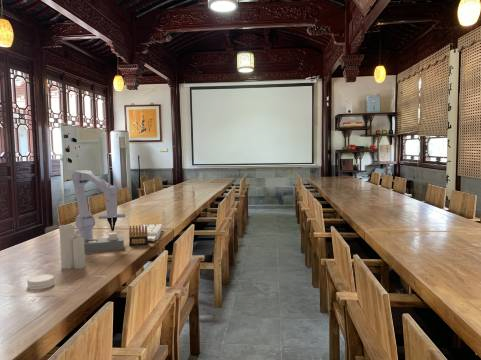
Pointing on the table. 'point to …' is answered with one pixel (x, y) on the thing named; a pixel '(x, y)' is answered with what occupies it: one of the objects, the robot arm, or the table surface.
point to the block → (103, 245)
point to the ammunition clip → (139, 239)
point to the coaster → (40, 282)
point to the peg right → (112, 236)
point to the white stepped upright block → (71, 248)
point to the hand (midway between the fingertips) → (112, 230)
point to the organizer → (152, 231)
